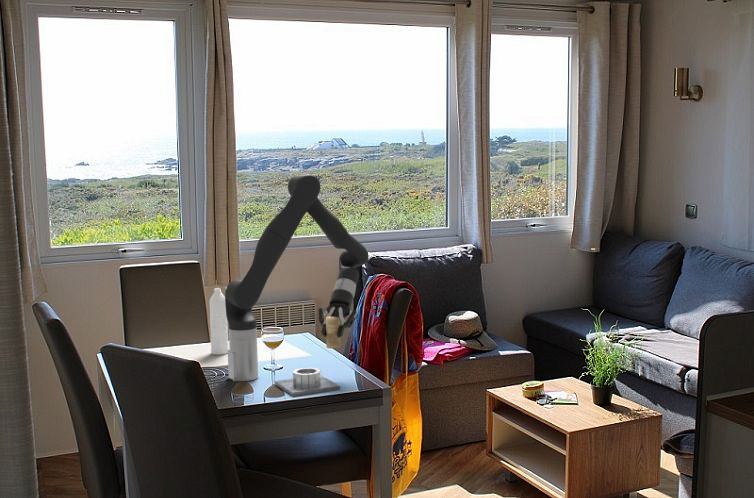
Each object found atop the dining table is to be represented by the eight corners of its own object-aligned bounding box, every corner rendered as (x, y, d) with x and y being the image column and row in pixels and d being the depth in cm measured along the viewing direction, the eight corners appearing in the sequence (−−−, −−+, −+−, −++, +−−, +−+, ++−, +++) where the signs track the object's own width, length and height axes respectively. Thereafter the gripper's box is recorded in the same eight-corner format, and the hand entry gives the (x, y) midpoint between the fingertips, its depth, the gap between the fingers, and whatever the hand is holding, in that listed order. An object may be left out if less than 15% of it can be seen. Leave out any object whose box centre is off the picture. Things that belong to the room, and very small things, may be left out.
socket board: (293, 396, 270) (292, 380, 269) (274, 384, 284) (274, 369, 283) (339, 389, 277) (339, 373, 276) (319, 378, 291) (319, 362, 291)
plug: (329, 349, 288) (329, 319, 287) (324, 346, 292) (323, 317, 291) (342, 347, 290) (342, 318, 289) (336, 344, 294) (336, 315, 293)
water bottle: (212, 355, 326) (209, 289, 323) (210, 351, 332) (208, 287, 329) (235, 353, 328) (233, 288, 325) (233, 350, 334) (231, 285, 332)
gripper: (320, 287, 298) (308, 328, 288) (360, 289, 294) (348, 331, 284) (326, 300, 304) (314, 341, 294) (365, 302, 300) (354, 343, 290)
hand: (331, 335), depth 289 cm, fingers closed on plug, 4 cm apart
